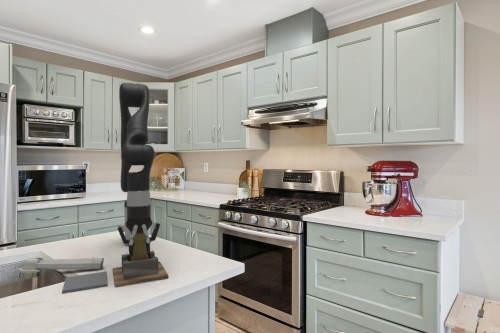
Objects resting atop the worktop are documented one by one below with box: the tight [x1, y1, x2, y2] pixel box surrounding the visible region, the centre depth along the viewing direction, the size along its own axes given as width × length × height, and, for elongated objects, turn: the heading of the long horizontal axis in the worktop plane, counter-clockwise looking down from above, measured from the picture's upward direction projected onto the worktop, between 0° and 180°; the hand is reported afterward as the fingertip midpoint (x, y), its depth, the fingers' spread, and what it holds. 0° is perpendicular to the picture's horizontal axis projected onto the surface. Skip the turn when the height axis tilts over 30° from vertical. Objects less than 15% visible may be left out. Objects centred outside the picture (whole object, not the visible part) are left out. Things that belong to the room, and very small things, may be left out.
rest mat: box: [61, 271, 109, 294], centre depth 99 cm, size 12×12×1 cm
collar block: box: [112, 250, 169, 288], centre depth 106 cm, size 16×16×6 cm
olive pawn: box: [131, 232, 149, 261], centre depth 106 cm, size 6×6×11 cm
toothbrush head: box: [18, 256, 105, 280], centre depth 108 cm, size 5×7×25 cm
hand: (139, 254), depth 106 cm, fingers closed on olive pawn, 4 cm apart
